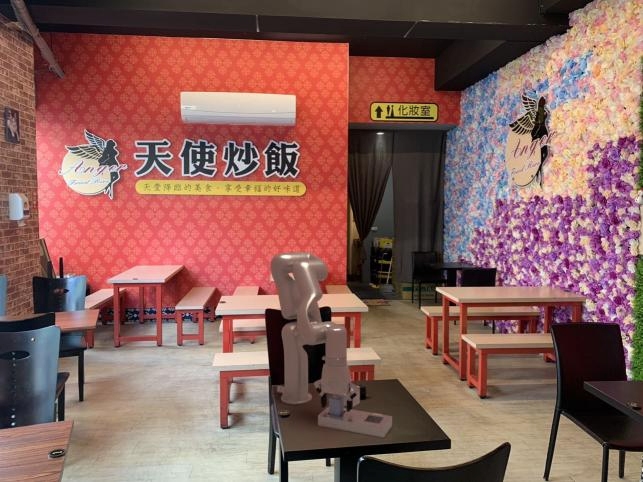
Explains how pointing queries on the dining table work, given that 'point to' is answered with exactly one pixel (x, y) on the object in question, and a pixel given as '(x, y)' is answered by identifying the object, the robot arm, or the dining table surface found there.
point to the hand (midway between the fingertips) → (336, 408)
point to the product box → (355, 400)
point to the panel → (357, 422)
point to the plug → (336, 405)
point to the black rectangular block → (363, 392)
